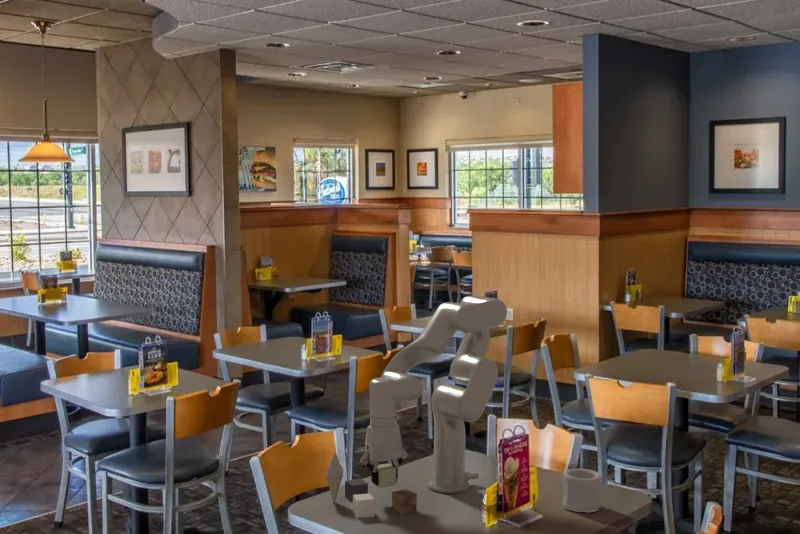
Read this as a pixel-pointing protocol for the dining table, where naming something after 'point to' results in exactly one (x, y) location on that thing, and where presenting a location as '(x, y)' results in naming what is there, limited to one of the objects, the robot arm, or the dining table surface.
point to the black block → (355, 488)
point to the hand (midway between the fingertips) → (384, 482)
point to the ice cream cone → (334, 476)
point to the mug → (581, 490)
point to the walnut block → (404, 501)
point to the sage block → (386, 475)
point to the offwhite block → (363, 505)
